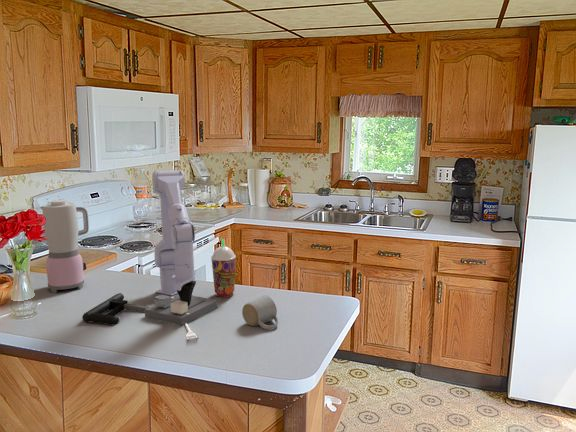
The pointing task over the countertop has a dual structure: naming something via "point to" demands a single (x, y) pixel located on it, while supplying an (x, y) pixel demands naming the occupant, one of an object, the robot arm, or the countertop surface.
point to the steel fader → (162, 301)
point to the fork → (189, 332)
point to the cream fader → (179, 307)
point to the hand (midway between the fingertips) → (186, 305)
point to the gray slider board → (195, 310)
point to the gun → (115, 306)
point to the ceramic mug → (260, 312)
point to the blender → (64, 245)
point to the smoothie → (223, 271)
